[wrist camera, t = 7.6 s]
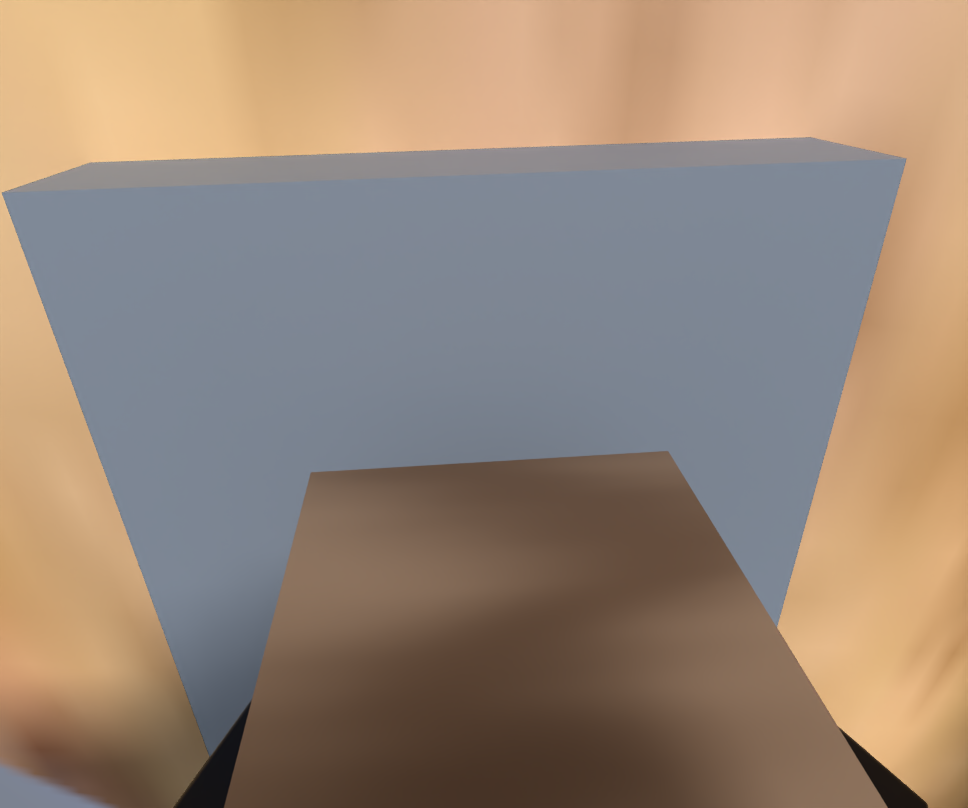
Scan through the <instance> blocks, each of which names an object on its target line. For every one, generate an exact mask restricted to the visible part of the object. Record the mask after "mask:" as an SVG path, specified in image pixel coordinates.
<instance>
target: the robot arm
mask: <svg viewBox="0 0 968 808" xmlns="http://www.w3.org/2000/svg"><path fill="white" fill-rule="evenodd" d="M251 701H252V699H251ZM251 701H250V702H249V703H248V705H247V706H246V708H245V709H244V710H243V712H242V713H241V715H240V716H239V717H238V719H237V720H236V721H235V723H234V724H233V726H232V727H231V728H230V730H229V731H228V733H227V734H226V735H225V737H224V738H223V739H222V741H221V742H220V744H219V745H218V746H217V748H216V749H215V751H214V752H213V753H212V755H211V756H210V757H209V759H208V760H207V762H206V763H205V764H204V766H203V767H202V769H201V770H200V771H199V773H198V774H197V775H196V777H195V778H194V780H193V781H192V782H191V784H190V785H189V786H188V788H187V789H186V791H185V792H184V793H183V795H182V796H181V798H180V799H179V800H178V802H177V803H176V804H175V806H174V807H173V808H224V806H225V802H226V798H227V794H228V790H229V786H230V783H231V779H232V775H233V771H234V767H235V763H236V759H237V756H238V752H239V748H240V744H241V740H242V736H243V732H244V728H245V725H246V721H247V717H248V713H249V709H250V705H251ZM838 728H839V727H838ZM839 729H840V728H839ZM840 731H841V733H842V734H843V736H844V737H845V739H846V741H847V742H848V744H849V746H850V747H851V749H852V750H853V752H854V754H855V755H856V757H857V759H858V760H859V762H860V763H861V765H862V767H863V768H864V770H865V772H866V773H867V775H868V776H869V778H870V780H871V781H872V783H873V785H874V786H875V788H876V789H877V791H878V793H879V794H880V796H881V798H882V799H883V801H884V802H885V804H886V806H887V807H888V808H928V805H927V803H926V802H925V801H924V800H923V799H921V798H920V797H919V796H918V795H917V794H916V793H915V792H913V791H912V790H911V789H910V788H909V787H908V786H906V785H905V784H904V783H903V782H902V781H901V780H899V779H898V778H897V777H896V776H895V775H894V774H893V773H891V772H890V771H889V770H888V769H887V768H886V767H884V766H883V765H882V764H881V763H880V762H879V761H877V760H876V759H875V758H874V757H873V756H872V755H870V754H869V753H868V752H867V751H866V750H865V749H864V748H862V747H861V746H860V745H859V744H858V743H857V742H855V741H854V740H853V739H852V738H851V737H850V736H848V735H847V734H846V733H845V732H844V731H843V730H842V729H840Z"/></svg>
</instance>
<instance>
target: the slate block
mask: <svg viewBox="0 0 968 808" xmlns="http://www.w3.org/2000/svg"><path fill="white" fill-rule="evenodd" d="M905 162H906V158H901V157H897V156H892V155H888V154H883V153H879V152H874V151H870V150H865V149H861V148H856V147H852V146H847V145H843V144H838V143H834V142H829V141H825V140H820V139H816V138H811V137H805V138H777V139H748V140H720V141H691V142H663V143H634V144H606V145H578V146H549V147H521V148H492V149H464V150H435V151H407V152H378V153H350V154H322V155H293V156H265V157H236V158H208V159H179V160H151V161H122V162H94V163H88V164H85V165H82V166H79V167H76V168H73V169H70V170H67V171H64V172H61V173H58V174H55V175H52V176H50V177H47V178H44V179H41V180H38V181H35V182H32V183H29V184H26V185H23V186H20V187H17V188H14V189H11V190H8V191H5V192H2V195H3V197H4V200H5V203H6V205H7V208H8V211H9V214H10V216H11V219H12V222H13V224H14V227H15V230H16V233H17V235H18V238H19V241H20V243H21V246H22V249H23V252H24V254H25V257H26V260H27V262H28V265H29V268H30V271H31V273H32V276H33V279H34V281H35V284H36V287H37V290H38V292H39V295H40V298H41V300H42V303H43V306H44V309H45V311H46V314H47V317H48V319H49V322H50V325H51V328H52V330H53V333H54V336H55V338H56V341H57V344H58V347H59V349H60V352H61V355H62V357H63V360H64V363H65V366H66V368H67V371H68V374H69V376H70V379H71V382H72V385H73V387H74V390H75V393H76V395H77V398H78V401H79V404H80V406H81V409H82V412H83V414H84V417H85V420H86V423H87V425H88V428H89V431H90V433H91V436H92V439H93V442H94V444H95V447H96V450H97V452H98V455H99V458H100V461H101V463H102V466H103V469H104V471H105V474H106V477H107V480H108V482H109V485H110V488H111V490H112V493H113V496H114V499H115V501H116V504H117V507H118V509H119V512H120V515H121V518H122V520H123V523H124V526H125V528H126V531H127V534H128V537H129V539H130V542H131V545H132V547H133V550H134V553H135V556H136V558H137V561H138V564H139V566H140V569H141V572H142V574H143V577H144V580H145V583H146V585H147V588H148V591H149V593H150V596H151V599H152V602H153V604H154V607H155V610H156V612H157V615H158V618H159V621H160V623H161V626H162V629H163V631H164V634H165V637H166V640H167V642H168V645H169V648H170V650H171V653H172V656H173V659H174V661H175V664H176V667H177V669H178V672H179V675H180V678H181V680H182V683H183V686H184V688H185V691H186V694H187V697H188V699H189V702H190V705H191V707H192V710H193V713H194V716H195V718H196V721H197V724H198V726H199V729H200V732H201V735H202V737H203V740H204V743H205V745H206V748H207V751H208V754H209V756H211V755H212V753H213V752H214V751H215V749H216V748H217V746H218V745H219V744H220V742H221V741H222V739H223V738H224V737H225V735H226V734H227V733H228V731H229V730H230V728H231V727H232V726H233V724H234V723H235V721H236V720H237V719H238V717H239V716H240V715H241V713H242V712H243V710H244V709H245V708H246V706H247V705H248V703H249V702H250V701H251V699H252V698H253V694H254V690H255V686H256V682H257V678H258V674H259V671H260V667H261V663H262V659H263V655H264V651H265V647H266V643H267V640H268V636H269V632H270V628H271V624H272V620H273V616H274V613H275V609H276V605H277V601H278V597H279V593H280V589H281V586H282V582H283V578H284V574H285V570H286V566H287V562H288V559H289V555H290V551H291V547H292V543H293V539H294V535H295V531H296V528H297V524H298V520H299V516H300V512H301V508H302V504H303V501H304V497H305V493H306V489H307V485H308V481H309V477H310V474H311V472H324V471H341V470H358V469H375V468H391V467H408V466H425V465H441V464H458V463H475V462H492V461H508V460H525V459H542V458H559V457H575V456H592V455H609V454H626V453H642V452H659V451H668V452H669V453H670V455H671V456H672V458H673V460H674V461H675V463H676V465H677V466H678V468H679V469H680V471H681V473H682V474H683V476H684V478H685V479H686V481H687V482H688V484H689V486H690V487H691V489H692V491H693V492H694V494H695V495H696V497H697V499H698V500H699V502H700V504H701V505H702V507H703V508H704V510H705V512H706V513H707V515H708V517H709V518H710V520H711V521H712V523H713V525H714V526H715V528H716V530H717V531H718V533H719V534H720V536H721V538H722V539H723V541H724V543H725V544H726V546H727V547H728V549H729V551H730V552H731V554H732V556H733V557H734V559H735V560H736V562H737V564H738V565H739V567H740V569H741V570H742V572H743V573H744V575H745V577H746V578H747V580H748V582H749V583H750V585H751V586H752V588H753V590H754V591H755V593H756V595H757V596H758V598H759V599H760V601H761V603H762V604H763V606H764V608H765V609H766V611H767V612H768V614H769V616H770V617H771V619H772V621H773V622H774V624H775V625H776V627H777V625H778V622H779V618H780V614H781V611H782V607H783V604H784V600H785V596H786V593H787V589H788V586H789V582H790V578H791V575H792V571H793V567H794V564H795V560H796V557H797V553H798V549H799V546H800V542H801V538H802V535H803V531H804V528H805V524H806V520H807V517H808V513H809V510H810V506H811V502H812V499H813V495H814V491H815V488H816V484H817V481H818V477H819V473H820V470H821V466H822V463H823V459H824V455H825V452H826V448H827V444H828V441H829V437H830V434H831V430H832V426H833V423H834V419H835V416H836V412H837V408H838V405H839V401H840V397H841V394H842V390H843V387H844V383H845V379H846V376H847V372H848V368H849V365H850V361H851V358H852V354H853V350H854V347H855V343H856V340H857V336H858V332H859V329H860V325H861V321H862V318H863V314H864V311H865V307H866V303H867V300H868V296H869V293H870V289H871V285H872V282H873V278H874V274H875V271H876V267H877V264H878V260H879V256H880V253H881V249H882V246H883V242H884V238H885V235H886V231H887V227H888V224H889V220H890V217H891V213H892V209H893V206H894V202H895V198H896V195H897V191H898V188H899V184H900V180H901V177H902V173H903V170H904V166H905Z"/></svg>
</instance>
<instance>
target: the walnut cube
mask: <svg viewBox="0 0 968 808" xmlns="http://www.w3.org/2000/svg"><path fill="white" fill-rule="evenodd" d="M224 808H888V807H887V806H886V804H885V802H884V801H883V799H882V798H881V796H880V794H879V793H878V791H877V789H876V788H875V786H874V785H873V783H872V781H871V780H870V778H869V776H868V775H867V773H866V772H865V770H864V768H863V767H862V765H861V763H860V762H859V760H858V759H857V757H856V755H855V754H854V752H853V750H852V749H851V747H850V746H849V744H848V742H847V741H846V739H845V737H844V736H843V734H842V733H841V731H840V729H839V728H838V726H837V724H836V723H835V721H834V720H833V718H832V716H831V715H830V713H829V711H828V710H827V708H826V707H825V705H824V703H823V702H822V700H821V698H820V697H819V695H818V694H817V692H816V690H815V689H814V687H813V685H812V684H811V682H810V681H809V679H808V677H807V676H806V674H805V672H804V671H803V669H802V668H801V666H800V664H799V663H798V661H797V659H796V658H795V656H794V655H793V653H792V651H791V650H790V648H789V647H788V645H787V643H786V642H785V640H784V638H783V637H782V635H781V634H780V632H779V630H778V629H777V627H776V625H775V624H774V622H773V621H772V619H771V617H770V616H769V614H768V612H767V611H766V609H765V608H764V606H763V604H762V603H761V601H760V599H759V598H758V596H757V595H756V593H755V591H754V590H753V588H752V586H751V585H750V583H749V582H748V580H747V578H746V577H745V575H744V573H743V572H742V570H741V569H740V567H739V565H738V564H737V562H736V560H735V559H734V557H733V556H732V554H731V552H730V551H729V549H728V547H727V546H726V544H725V543H724V541H723V539H722V538H721V536H720V534H719V533H718V531H717V530H716V528H715V526H714V525H713V523H712V521H711V520H710V518H709V517H708V515H707V513H706V512H705V510H704V508H703V507H702V505H701V504H700V502H699V500H698V499H697V497H696V495H695V494H694V492H693V491H692V489H691V487H690V486H689V484H688V482H687V481H686V479H685V478H684V476H683V474H682V473H681V471H680V469H679V468H678V466H677V465H676V463H675V461H674V460H673V458H672V456H671V455H670V453H669V452H668V451H659V452H642V453H626V454H609V455H592V456H575V457H559V458H542V459H525V460H508V461H492V462H475V463H458V464H441V465H425V466H408V467H391V468H375V469H358V470H341V471H324V472H311V474H310V477H309V481H308V485H307V489H306V493H305V497H304V501H303V504H302V508H301V512H300V516H299V520H298V524H297V528H296V531H295V535H294V539H293V543H292V547H291V551H290V555H289V559H288V562H287V566H286V570H285V574H284V578H283V582H282V586H281V589H280V593H279V597H278V601H277V605H276V609H275V613H274V616H273V620H272V624H271V628H270V632H269V636H268V640H267V643H266V647H265V651H264V655H263V659H262V663H261V667H260V671H259V674H258V678H257V682H256V686H255V690H254V694H253V698H252V701H251V705H250V709H249V713H248V717H247V721H246V725H245V728H244V732H243V736H242V740H241V744H240V748H239V752H238V756H237V759H236V763H235V767H234V771H233V775H232V779H231V783H230V786H229V790H228V794H227V798H226V802H225V806H224Z"/></svg>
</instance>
